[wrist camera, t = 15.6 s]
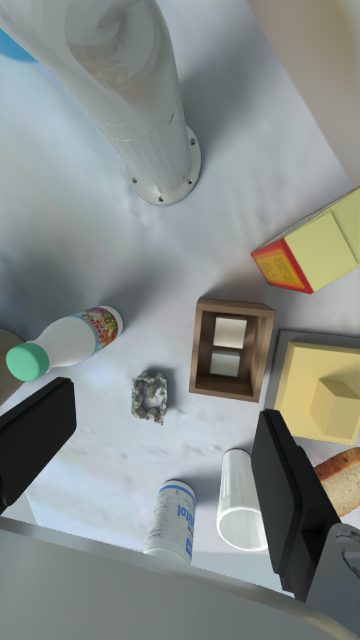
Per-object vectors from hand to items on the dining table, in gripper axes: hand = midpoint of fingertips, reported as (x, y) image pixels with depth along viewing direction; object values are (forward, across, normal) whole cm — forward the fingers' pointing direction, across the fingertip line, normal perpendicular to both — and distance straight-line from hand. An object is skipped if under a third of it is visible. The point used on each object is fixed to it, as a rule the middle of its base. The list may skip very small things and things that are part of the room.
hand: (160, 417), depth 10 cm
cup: (+31, -12, +34) cm, 47 cm away
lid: (+29, -24, +13) cm, 40 cm away
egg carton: (+31, +8, +20) cm, 38 cm away
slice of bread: (+31, -31, +36) cm, 57 cm away
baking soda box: (+31, -14, -11) cm, 35 cm away
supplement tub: (+31, +1, +48) cm, 57 cm away
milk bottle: (+31, +19, +5) cm, 36 cm away
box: (+30, -6, +6) cm, 31 cm away
